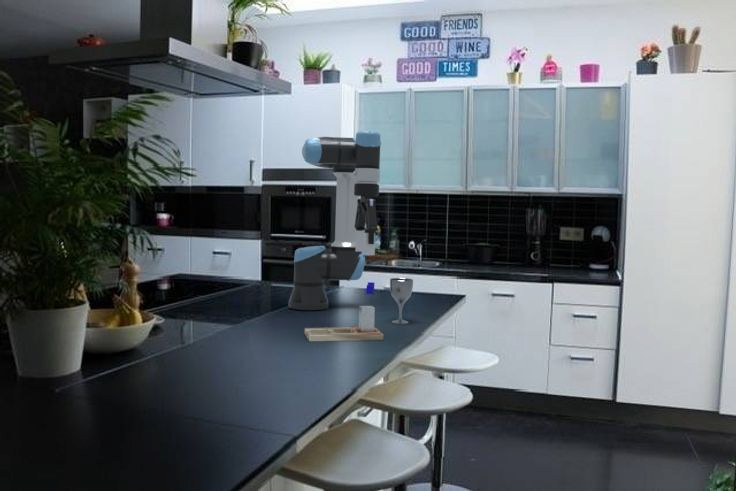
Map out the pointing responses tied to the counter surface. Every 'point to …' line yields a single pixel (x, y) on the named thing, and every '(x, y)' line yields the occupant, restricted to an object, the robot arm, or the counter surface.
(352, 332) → the hole rail
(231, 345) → the counter surface
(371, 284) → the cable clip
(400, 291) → the wine glass
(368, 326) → the steel peg
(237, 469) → the counter surface
